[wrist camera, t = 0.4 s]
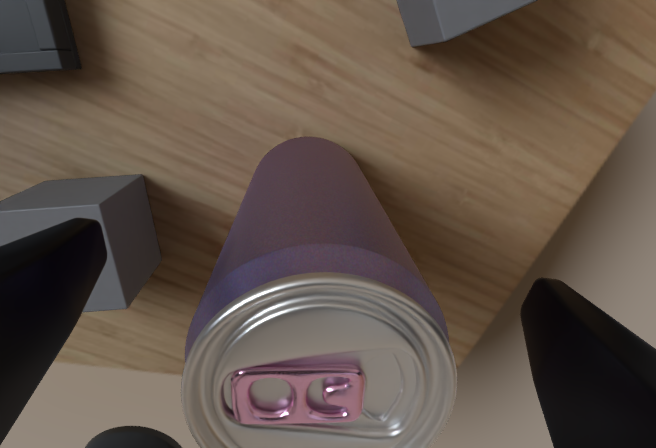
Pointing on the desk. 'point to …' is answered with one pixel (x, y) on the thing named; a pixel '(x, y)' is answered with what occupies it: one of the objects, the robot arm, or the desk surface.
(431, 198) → the desk surface
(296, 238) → the beverage can
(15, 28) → the tray
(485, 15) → the grey block
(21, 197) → the grey block
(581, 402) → the robot arm
